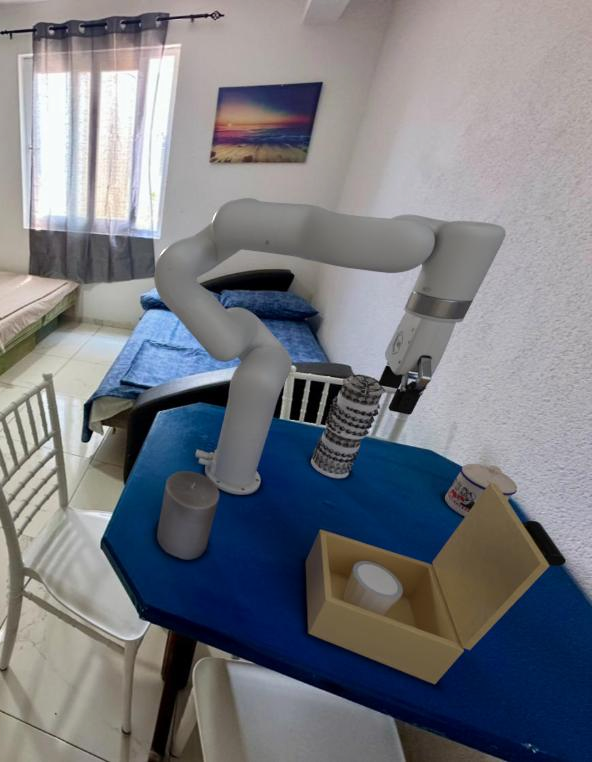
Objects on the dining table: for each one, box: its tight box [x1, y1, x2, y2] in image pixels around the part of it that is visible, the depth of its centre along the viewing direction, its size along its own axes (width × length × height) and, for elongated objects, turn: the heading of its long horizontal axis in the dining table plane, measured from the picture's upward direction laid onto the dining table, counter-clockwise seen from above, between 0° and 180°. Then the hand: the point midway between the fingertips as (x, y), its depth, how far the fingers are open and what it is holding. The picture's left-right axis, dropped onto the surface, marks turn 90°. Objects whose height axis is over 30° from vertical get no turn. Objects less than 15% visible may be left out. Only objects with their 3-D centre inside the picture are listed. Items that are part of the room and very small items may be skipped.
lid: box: [431, 483, 567, 651], centre depth 56 cm, size 18×15×5 cm
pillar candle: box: [156, 470, 220, 561], centre depth 77 cm, size 10×10×15 cm
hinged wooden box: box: [305, 529, 465, 685], centre depth 66 cm, size 17×15×9 cm
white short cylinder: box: [343, 561, 403, 616], centre depth 67 cm, size 7×7×7 cm
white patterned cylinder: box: [310, 374, 386, 479], centre depth 96 cm, size 9×9×25 cm
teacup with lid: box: [444, 463, 518, 517], centre depth 87 cm, size 12×9×12 cm
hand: (393, 398), depth 72 cm, fingers open, 9 cm apart
